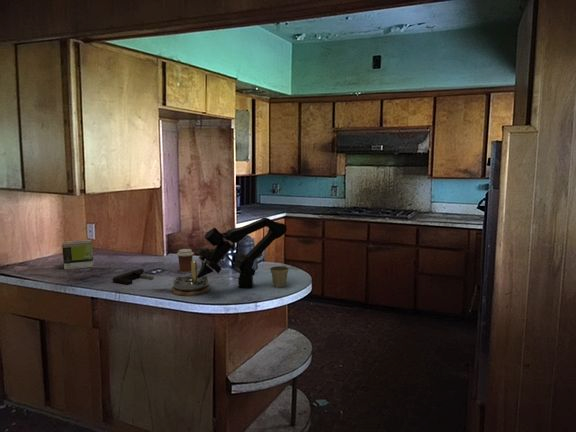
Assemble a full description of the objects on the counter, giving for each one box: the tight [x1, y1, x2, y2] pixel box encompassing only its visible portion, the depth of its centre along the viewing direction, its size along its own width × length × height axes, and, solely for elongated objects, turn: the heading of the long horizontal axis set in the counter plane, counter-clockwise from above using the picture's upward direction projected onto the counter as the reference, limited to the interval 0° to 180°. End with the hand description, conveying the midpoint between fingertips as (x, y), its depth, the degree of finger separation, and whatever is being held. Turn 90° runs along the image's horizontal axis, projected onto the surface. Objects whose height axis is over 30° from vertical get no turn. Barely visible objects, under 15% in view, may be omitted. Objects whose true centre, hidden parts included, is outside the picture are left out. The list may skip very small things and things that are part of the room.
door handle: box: [112, 268, 154, 286], centre depth 243 cm, size 3×20×16 cm
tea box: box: [61, 239, 95, 270], centre depth 268 cm, size 15×10×15 cm
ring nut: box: [173, 260, 209, 292], centre depth 222 cm, size 16×16×14 cm
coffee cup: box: [176, 248, 195, 274], centre depth 257 cm, size 9×9×12 cm
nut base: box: [171, 283, 211, 297], centre depth 224 cm, size 18×18×2 cm
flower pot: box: [269, 265, 290, 288], centre depth 230 cm, size 9×9×9 cm
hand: (197, 277), depth 217 cm, fingers closed, pressing on ring nut
